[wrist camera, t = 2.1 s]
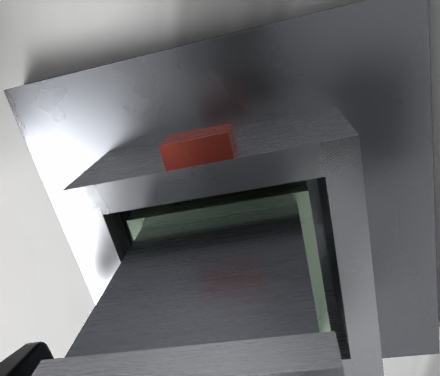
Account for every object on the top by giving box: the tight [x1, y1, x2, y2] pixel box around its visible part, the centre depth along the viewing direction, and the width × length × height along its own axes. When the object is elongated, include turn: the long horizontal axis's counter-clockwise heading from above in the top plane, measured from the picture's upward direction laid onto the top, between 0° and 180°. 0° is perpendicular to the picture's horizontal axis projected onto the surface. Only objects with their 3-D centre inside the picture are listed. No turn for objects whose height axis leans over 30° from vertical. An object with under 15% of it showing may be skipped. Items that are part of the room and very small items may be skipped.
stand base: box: [4, 0, 439, 376], centre depth 12 cm, size 12×12×4 cm
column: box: [31, 180, 345, 376], centre depth 9 cm, size 5×5×8 cm
